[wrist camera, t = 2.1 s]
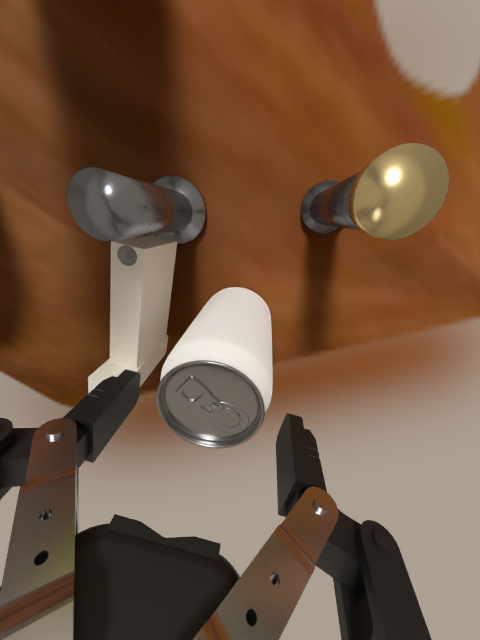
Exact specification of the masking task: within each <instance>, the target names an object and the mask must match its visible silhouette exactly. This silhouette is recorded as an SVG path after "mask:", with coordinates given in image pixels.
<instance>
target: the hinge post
mask: <svg viewBox="0 0 480 640" xmlns="http://www.w3.org/2000/svg"><path fill="white" fill-rule="evenodd" d="M67 198H68V205H69V209H70V212H71V214H72V216H73V218H74V220H75V221H76V223H77V224H78V226H79V227H80V228H81V229H82V230H83V231H84V232H85V233H87V234H88V235H90V236H91V237H93V238H95V239H98V240H102V241H112V240H119V239H127V238H134V237H141V236H148V235H155V234H156V235H158V236H159V237H163V238H167V239H170V240H174V241H177V244H182V243H186V242H189V241H191V240H193V239H195V238H196V237H197V236H198V235H199V234H200V233H201V231H202V230H203V228H204V225H205V222H206V216H207V210H206V204H205V201H204V198H203V196H202V194H201V193H200V191H199V190H198V189H197V187H196V186H195V185H193V184H192V183H191V182H189V181H188V180H186V179H184V178H181V177H178V176H165V177H162V178H160V179H158V180H157V181H155V182H154V183H153V184H151V183H148V182H145V181H141V180H138V179H135V178H131V177H128V176H124V175H121V174H118V173H114V172H111V171H108V170H104V169H101V168H96V167H88V168H84V169H82V170H80V171H78V172H77V173H76V174H75V175H74V176H73V178H72V179H71V181H70V183H69V187H68V193H67Z"/></svg>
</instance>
